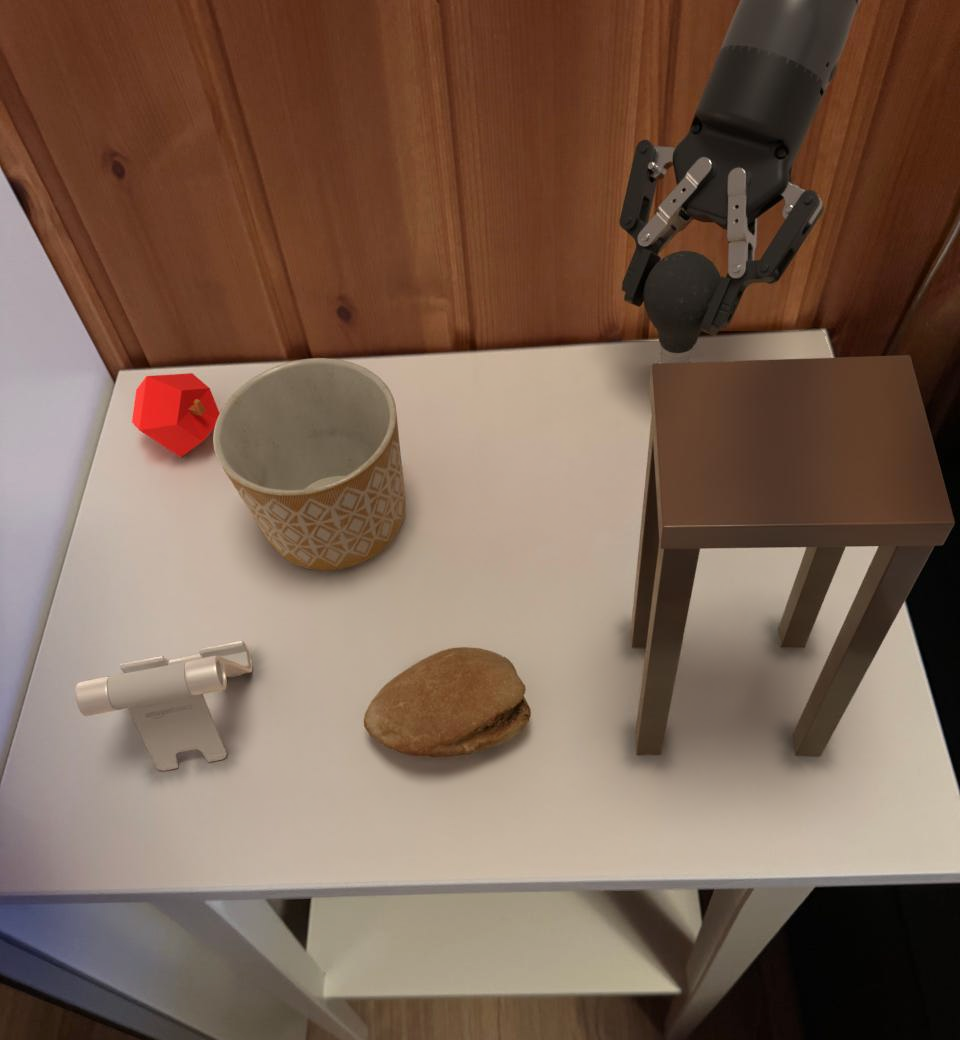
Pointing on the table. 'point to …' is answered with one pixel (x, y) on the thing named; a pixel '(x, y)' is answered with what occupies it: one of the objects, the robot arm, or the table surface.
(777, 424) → the walnut stand
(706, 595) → the table surface
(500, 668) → the stone
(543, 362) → the table surface
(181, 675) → the tablet stand
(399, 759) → the table surface
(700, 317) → the light bulb
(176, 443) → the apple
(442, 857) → the table surface
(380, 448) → the planter
